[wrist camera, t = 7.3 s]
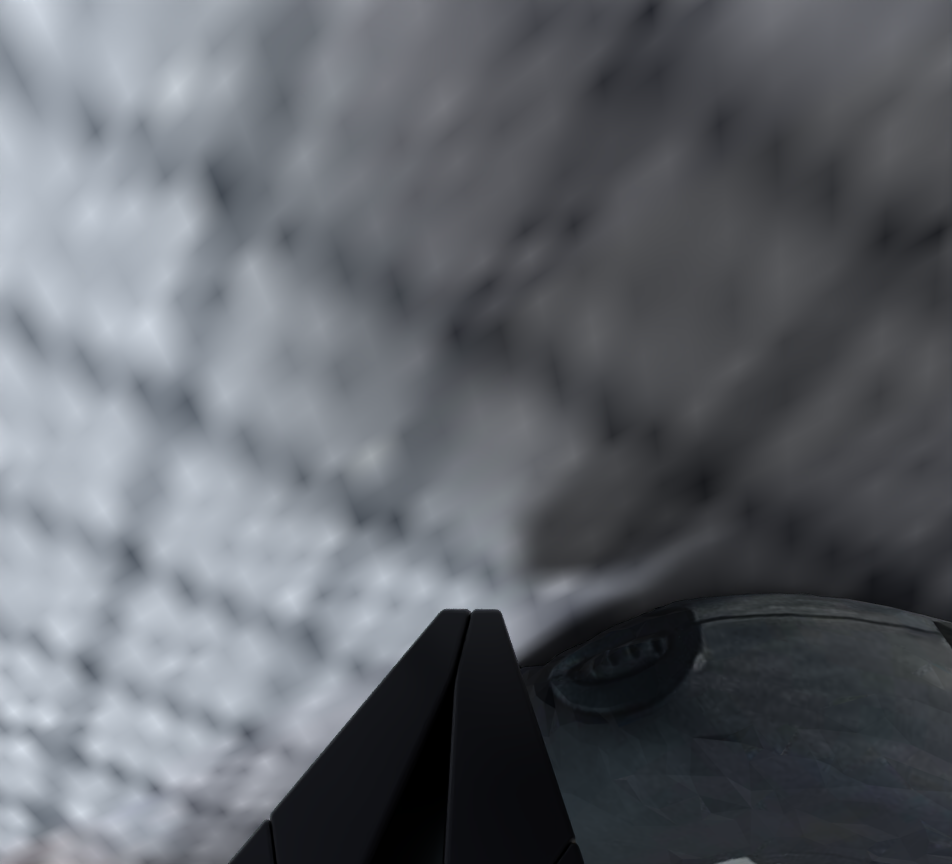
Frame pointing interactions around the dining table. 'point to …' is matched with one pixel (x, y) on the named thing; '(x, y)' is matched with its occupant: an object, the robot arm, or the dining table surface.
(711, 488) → the dining table surface
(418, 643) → the robot arm
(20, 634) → the dining table surface
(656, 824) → the electronic device
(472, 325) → the dining table surface
